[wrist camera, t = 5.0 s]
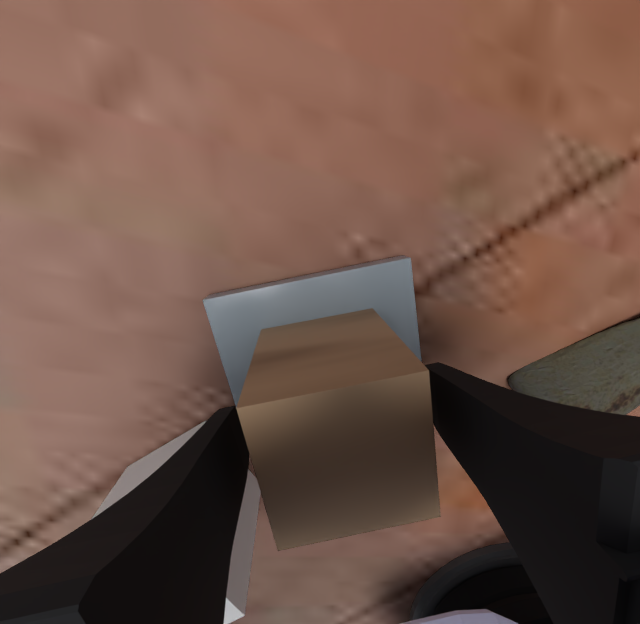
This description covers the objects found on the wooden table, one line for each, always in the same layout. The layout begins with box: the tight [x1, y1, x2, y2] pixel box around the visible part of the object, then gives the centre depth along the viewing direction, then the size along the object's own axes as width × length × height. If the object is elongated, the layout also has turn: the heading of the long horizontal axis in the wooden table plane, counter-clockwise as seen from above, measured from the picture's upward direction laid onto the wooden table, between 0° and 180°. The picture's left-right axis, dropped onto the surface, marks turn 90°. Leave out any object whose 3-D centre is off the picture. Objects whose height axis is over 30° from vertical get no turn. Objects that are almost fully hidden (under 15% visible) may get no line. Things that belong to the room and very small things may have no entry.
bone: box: [508, 318, 640, 415], centre depth 15 cm, size 13×5×4 cm, turn 117°
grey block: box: [92, 420, 261, 624], centre depth 14 cm, size 5×5×6 cm
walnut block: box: [236, 308, 441, 551], centre depth 11 cm, size 5×5×6 cm
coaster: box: [203, 255, 422, 407], centre depth 15 cm, size 9×9×1 cm
